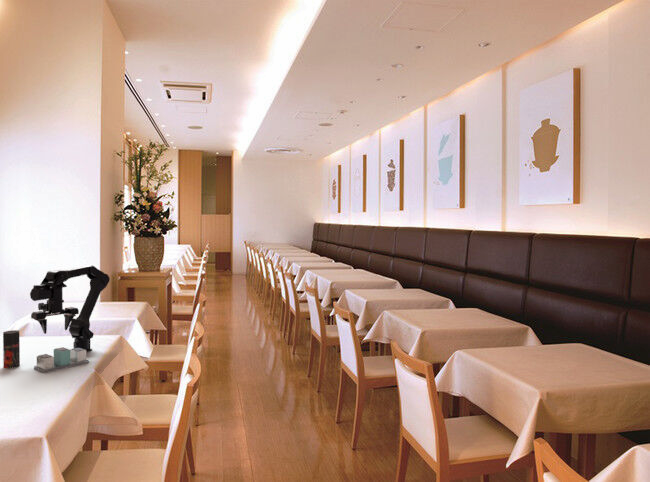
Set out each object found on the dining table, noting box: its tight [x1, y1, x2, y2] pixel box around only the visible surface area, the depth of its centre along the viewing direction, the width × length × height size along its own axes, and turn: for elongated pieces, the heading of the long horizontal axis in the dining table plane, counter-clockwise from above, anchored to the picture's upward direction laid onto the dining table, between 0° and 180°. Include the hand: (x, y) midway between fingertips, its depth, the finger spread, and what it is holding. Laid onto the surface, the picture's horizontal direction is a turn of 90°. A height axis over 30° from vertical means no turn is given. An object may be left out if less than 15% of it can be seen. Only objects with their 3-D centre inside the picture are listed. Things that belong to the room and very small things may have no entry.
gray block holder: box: [33, 347, 90, 374], centre depth 216 cm, size 19×9×6 cm, turn 144°
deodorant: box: [2, 329, 21, 369], centre depth 214 cm, size 6×6×15 cm
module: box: [53, 346, 71, 366], centre depth 216 cm, size 4×6×6 cm, turn 54°
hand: (55, 331), depth 227 cm, fingers open, 9 cm apart
